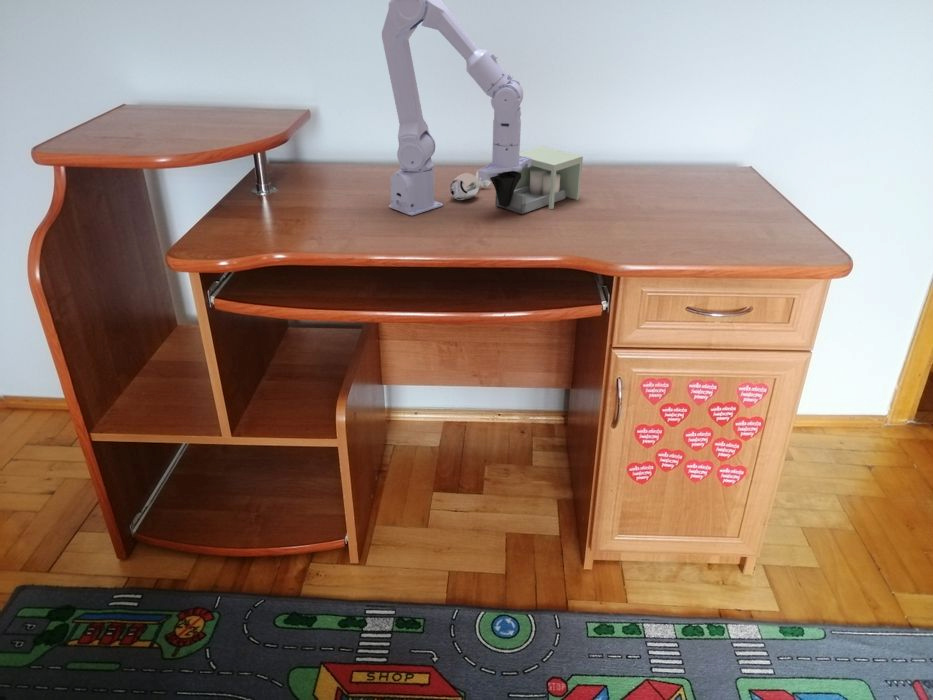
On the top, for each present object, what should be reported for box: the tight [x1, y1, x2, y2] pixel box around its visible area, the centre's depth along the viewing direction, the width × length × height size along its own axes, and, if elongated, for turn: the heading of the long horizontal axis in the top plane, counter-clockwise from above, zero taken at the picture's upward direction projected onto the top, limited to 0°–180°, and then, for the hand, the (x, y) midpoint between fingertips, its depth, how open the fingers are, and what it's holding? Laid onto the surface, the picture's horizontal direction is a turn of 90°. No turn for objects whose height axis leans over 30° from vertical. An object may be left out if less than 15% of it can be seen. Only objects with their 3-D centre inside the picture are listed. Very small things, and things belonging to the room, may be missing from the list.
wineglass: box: [449, 170, 492, 201], centre depth 163 cm, size 6×6×12 cm
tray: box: [494, 169, 567, 215], centre depth 158 cm, size 15×8×6 cm, turn 134°
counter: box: [515, 145, 584, 210], centre depth 160 cm, size 10×12×10 cm
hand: (504, 205), depth 153 cm, fingers closed
